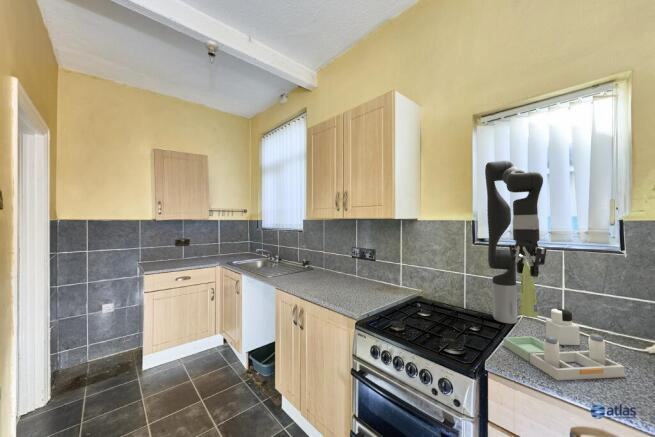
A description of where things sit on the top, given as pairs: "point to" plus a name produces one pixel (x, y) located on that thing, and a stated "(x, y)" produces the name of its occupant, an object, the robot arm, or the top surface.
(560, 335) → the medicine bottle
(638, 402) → the top surface
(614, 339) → the top surface
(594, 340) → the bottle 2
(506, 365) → the top surface
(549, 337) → the bottle
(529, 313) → the tube
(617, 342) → the top surface
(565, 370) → the holder
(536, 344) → the tray
